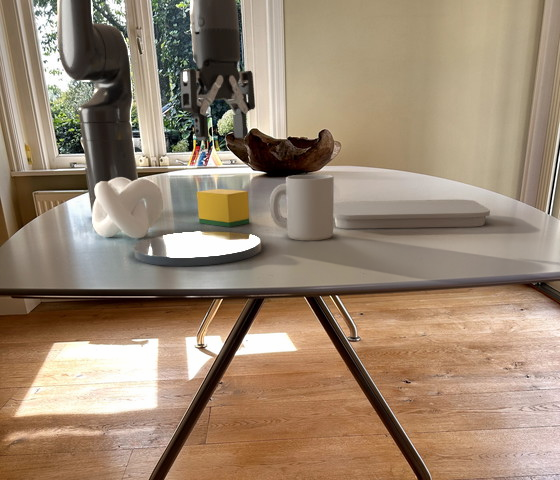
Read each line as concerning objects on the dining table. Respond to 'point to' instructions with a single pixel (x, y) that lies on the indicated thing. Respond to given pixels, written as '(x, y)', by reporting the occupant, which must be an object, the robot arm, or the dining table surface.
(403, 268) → the dining table surface
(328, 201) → the cup
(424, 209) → the grey flat slab
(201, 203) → the sponge
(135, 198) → the white knot sculpture
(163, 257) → the plate
